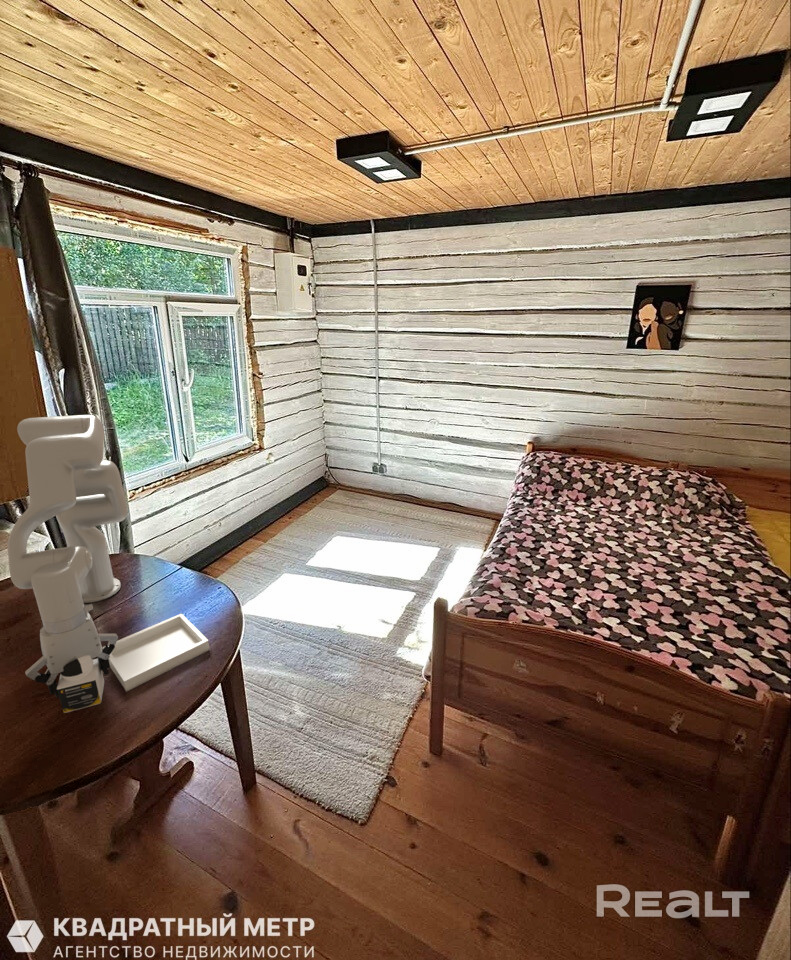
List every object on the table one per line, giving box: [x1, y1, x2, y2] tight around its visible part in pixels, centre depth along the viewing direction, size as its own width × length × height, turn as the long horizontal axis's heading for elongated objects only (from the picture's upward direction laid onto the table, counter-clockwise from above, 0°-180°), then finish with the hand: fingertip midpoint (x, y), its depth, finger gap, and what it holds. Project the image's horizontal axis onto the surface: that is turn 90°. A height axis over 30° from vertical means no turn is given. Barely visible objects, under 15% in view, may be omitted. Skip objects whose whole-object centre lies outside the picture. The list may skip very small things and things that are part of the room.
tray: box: [102, 613, 210, 692], centre depth 119 cm, size 16×20×3 cm
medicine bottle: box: [57, 655, 105, 714], centre depth 104 cm, size 7×7×12 cm
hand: (81, 682), depth 105 cm, fingers closed on medicine bottle, 9 cm apart
